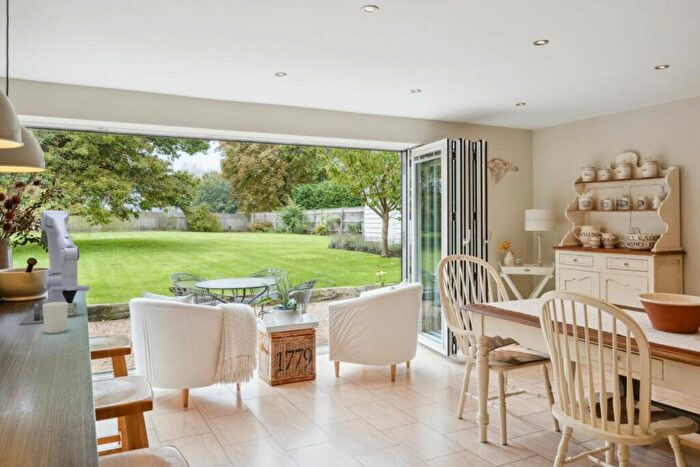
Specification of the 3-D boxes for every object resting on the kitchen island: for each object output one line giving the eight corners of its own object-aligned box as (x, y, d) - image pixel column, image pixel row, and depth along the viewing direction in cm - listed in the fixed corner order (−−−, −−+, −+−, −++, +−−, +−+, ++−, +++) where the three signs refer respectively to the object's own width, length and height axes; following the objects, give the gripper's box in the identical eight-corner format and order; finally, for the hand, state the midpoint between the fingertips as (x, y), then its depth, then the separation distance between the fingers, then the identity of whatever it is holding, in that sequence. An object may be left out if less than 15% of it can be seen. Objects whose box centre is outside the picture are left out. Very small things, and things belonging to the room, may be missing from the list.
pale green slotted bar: (75, 313, 210) (75, 302, 210) (77, 314, 209) (77, 302, 209) (40, 318, 199) (40, 306, 199) (41, 319, 198) (41, 307, 198)
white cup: (72, 329, 185) (72, 302, 185) (58, 334, 178) (58, 306, 177) (53, 328, 186) (52, 301, 186) (37, 333, 178) (37, 305, 178)
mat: (30, 314, 211) (30, 313, 211) (68, 312, 217) (68, 311, 217) (19, 325, 191) (19, 323, 191) (61, 322, 197) (61, 321, 197)
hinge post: (34, 321, 198) (34, 303, 198) (40, 320, 199) (40, 303, 199) (33, 322, 196) (33, 304, 196) (39, 321, 197) (39, 304, 197)
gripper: (48, 278, 203) (48, 311, 203) (88, 276, 209) (88, 309, 209) (50, 276, 209) (50, 308, 210) (89, 274, 215) (89, 306, 216)
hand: (69, 308), depth 210 cm, fingers closed
